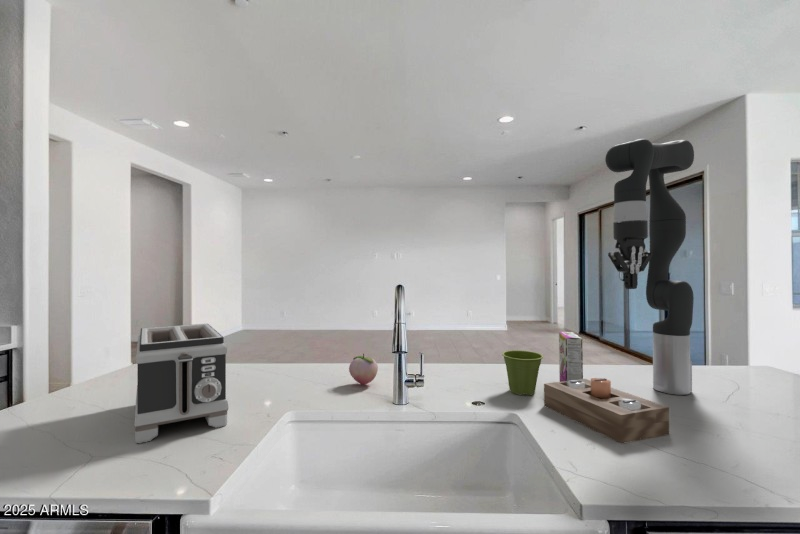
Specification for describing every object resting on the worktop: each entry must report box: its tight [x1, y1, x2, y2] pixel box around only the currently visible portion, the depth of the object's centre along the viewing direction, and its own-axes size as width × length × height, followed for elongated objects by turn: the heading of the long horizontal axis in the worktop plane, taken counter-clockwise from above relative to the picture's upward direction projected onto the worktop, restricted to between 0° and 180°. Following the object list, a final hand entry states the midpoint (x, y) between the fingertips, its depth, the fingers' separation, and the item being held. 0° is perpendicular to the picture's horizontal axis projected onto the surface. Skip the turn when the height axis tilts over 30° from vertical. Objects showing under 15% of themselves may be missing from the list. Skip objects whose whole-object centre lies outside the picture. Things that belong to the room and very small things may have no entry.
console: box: [543, 378, 670, 444], centre depth 96 cm, size 14×24×6 cm, turn 19°
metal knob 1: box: [567, 380, 585, 390], centre depth 103 cm, size 4×4×4 cm
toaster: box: [134, 323, 229, 444], centre depth 97 cm, size 18×34×21 cm, turn 33°
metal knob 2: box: [618, 399, 641, 411], centre depth 88 cm, size 4×4×4 cm
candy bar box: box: [558, 331, 584, 382], centre depth 121 cm, size 11×5×16 cm, turn 168°
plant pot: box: [501, 349, 544, 396], centre depth 117 cm, size 12×12×11 cm
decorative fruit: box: [348, 353, 379, 386], centre depth 124 cm, size 9×8×10 cm
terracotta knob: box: [590, 377, 612, 398], centre depth 96 cm, size 4×4×4 cm
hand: (630, 288), depth 99 cm, fingers closed
